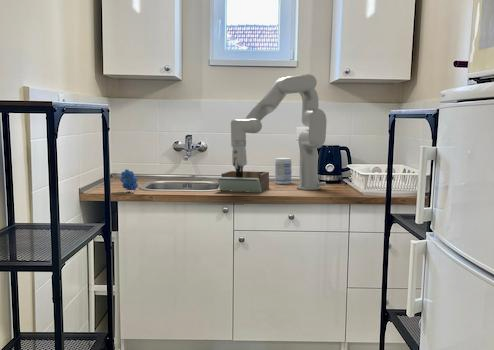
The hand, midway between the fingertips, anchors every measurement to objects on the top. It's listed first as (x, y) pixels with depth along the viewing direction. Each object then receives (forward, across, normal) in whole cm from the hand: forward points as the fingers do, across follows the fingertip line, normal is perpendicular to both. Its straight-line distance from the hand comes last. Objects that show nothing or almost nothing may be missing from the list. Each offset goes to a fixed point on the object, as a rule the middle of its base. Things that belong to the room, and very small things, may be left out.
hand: (239, 179), depth 241 cm
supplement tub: (+7, +41, -13) cm, 43 cm away
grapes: (+6, -15, +56) cm, 58 cm away
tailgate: (+7, +2, 0) cm, 7 cm away
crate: (+7, +10, 0) cm, 13 cm away
